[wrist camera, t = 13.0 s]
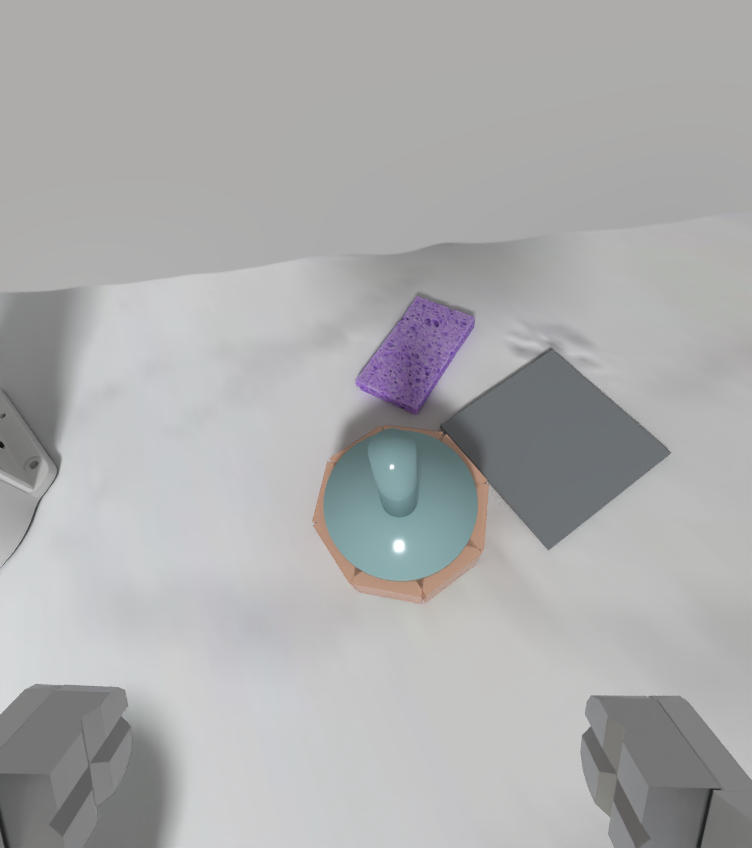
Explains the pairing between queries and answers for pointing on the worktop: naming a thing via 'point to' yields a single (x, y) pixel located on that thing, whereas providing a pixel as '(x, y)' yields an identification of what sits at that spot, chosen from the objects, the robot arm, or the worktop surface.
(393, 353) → the sponges
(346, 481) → the lid
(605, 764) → the robot arm
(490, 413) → the mat
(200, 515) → the worktop surface
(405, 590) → the bowl
